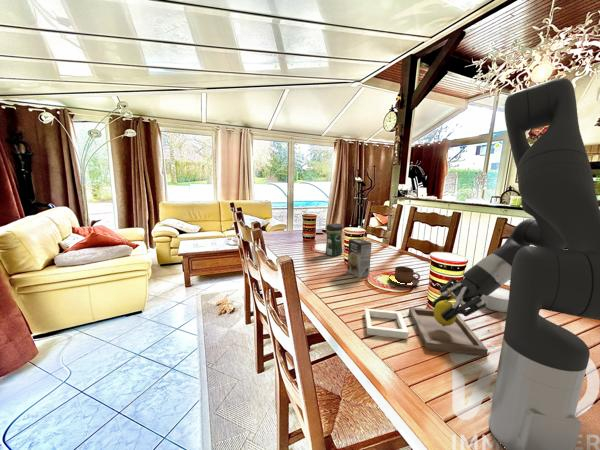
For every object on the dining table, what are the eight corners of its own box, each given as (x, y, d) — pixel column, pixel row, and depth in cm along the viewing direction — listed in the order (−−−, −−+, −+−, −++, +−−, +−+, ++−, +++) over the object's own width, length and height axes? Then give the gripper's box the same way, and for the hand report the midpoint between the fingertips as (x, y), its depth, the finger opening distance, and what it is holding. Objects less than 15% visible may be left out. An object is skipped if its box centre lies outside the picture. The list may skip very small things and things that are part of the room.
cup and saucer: (412, 278, 109) (413, 265, 108) (423, 289, 98) (424, 275, 96) (385, 276, 111) (386, 264, 109) (392, 288, 99) (393, 274, 98)
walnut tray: (486, 356, 60) (487, 349, 60) (426, 349, 63) (426, 342, 62) (455, 317, 77) (456, 311, 77) (408, 312, 80) (409, 307, 80)
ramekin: (489, 296, 92) (491, 283, 91) (524, 311, 81) (526, 296, 80) (467, 300, 88) (469, 287, 87) (501, 316, 78) (503, 301, 77)
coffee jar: (335, 251, 150) (335, 221, 147) (344, 254, 144) (345, 223, 140) (323, 254, 145) (323, 223, 141) (332, 257, 138) (332, 225, 135)
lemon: (458, 332, 66) (461, 306, 65) (436, 330, 68) (438, 304, 66) (450, 321, 72) (452, 296, 70) (429, 319, 73) (432, 295, 71)
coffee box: (346, 271, 116) (348, 239, 113) (357, 269, 119) (359, 237, 116) (358, 278, 108) (360, 243, 105) (370, 276, 111) (372, 242, 108)
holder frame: (408, 339, 67) (408, 332, 66) (367, 334, 69) (367, 328, 68) (399, 317, 77) (400, 311, 77) (364, 314, 79) (364, 308, 79)
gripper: (464, 256, 73) (419, 292, 76) (498, 274, 58) (441, 317, 62) (481, 274, 73) (435, 308, 76) (518, 296, 59) (460, 337, 62)
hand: (438, 312), depth 69 cm, fingers closed on lemon, 5 cm apart
